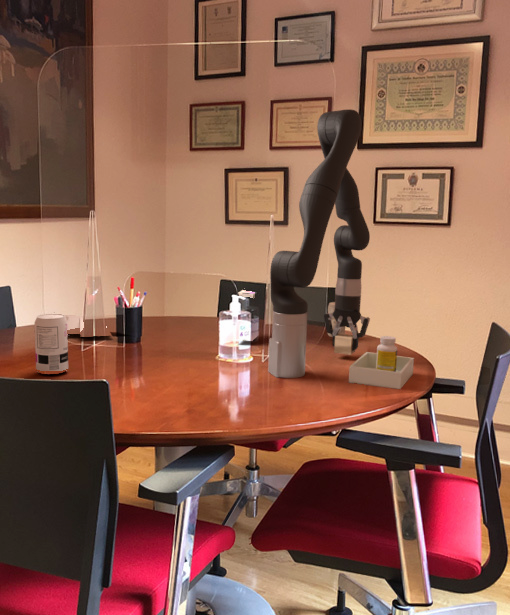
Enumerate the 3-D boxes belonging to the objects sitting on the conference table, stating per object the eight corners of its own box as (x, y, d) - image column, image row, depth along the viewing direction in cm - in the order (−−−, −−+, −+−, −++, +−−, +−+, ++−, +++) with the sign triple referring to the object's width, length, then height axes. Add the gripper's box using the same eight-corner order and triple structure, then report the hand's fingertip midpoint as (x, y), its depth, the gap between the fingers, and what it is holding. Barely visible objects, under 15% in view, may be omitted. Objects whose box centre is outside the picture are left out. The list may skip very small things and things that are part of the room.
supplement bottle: (398, 375, 166) (400, 339, 164) (378, 375, 166) (380, 339, 164) (393, 370, 171) (395, 335, 170) (373, 369, 171) (375, 335, 169)
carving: (342, 334, 219) (344, 301, 217) (346, 339, 212) (348, 305, 210) (325, 334, 219) (326, 301, 217) (328, 339, 212) (329, 304, 210)
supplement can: (30, 371, 165) (28, 315, 162) (58, 365, 171) (57, 312, 168) (45, 377, 159) (44, 320, 157) (74, 371, 165) (73, 316, 163)
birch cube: (350, 354, 184) (351, 338, 183) (334, 352, 186) (335, 336, 185) (355, 351, 188) (356, 335, 187) (339, 349, 190) (340, 333, 189)
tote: (399, 392, 155) (401, 373, 154) (348, 384, 160) (349, 366, 159) (412, 375, 170) (414, 357, 169) (365, 369, 175) (366, 351, 174)
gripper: (375, 294, 185) (371, 349, 187) (329, 289, 190) (326, 343, 193) (368, 297, 178) (364, 354, 181) (321, 292, 184) (318, 348, 186)
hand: (344, 348), depth 187 cm, fingers closed on birch cube, 5 cm apart
